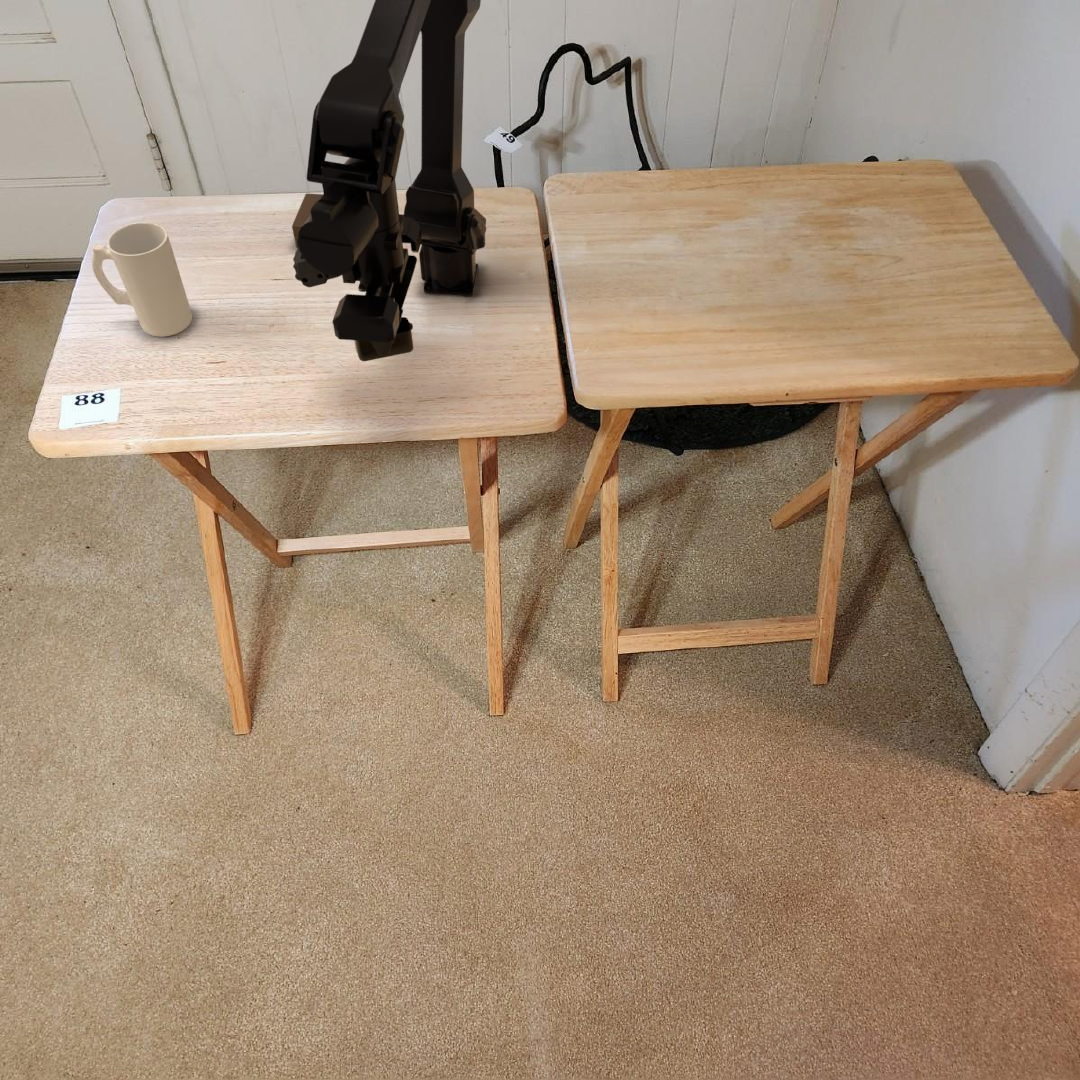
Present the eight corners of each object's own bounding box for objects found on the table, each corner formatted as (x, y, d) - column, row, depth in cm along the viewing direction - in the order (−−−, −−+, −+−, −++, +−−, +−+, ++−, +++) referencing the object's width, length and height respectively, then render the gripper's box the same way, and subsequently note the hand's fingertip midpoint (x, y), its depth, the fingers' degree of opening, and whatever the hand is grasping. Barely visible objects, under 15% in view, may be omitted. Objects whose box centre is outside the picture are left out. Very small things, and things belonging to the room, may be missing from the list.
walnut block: (366, 218, 137) (362, 196, 134) (354, 252, 132) (350, 229, 129) (310, 215, 137) (305, 193, 135) (296, 248, 132) (291, 226, 130)
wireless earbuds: (421, 352, 111) (419, 329, 109) (360, 364, 110) (356, 341, 107) (412, 328, 114) (409, 305, 112) (352, 340, 113) (348, 317, 110)
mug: (200, 305, 125) (173, 222, 115) (187, 339, 120) (158, 256, 111) (122, 303, 125) (89, 221, 115) (106, 337, 120) (70, 254, 111)
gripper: (314, 164, 105) (336, 284, 117) (269, 268, 93) (299, 389, 106) (416, 169, 105) (427, 289, 117) (384, 274, 93) (400, 396, 105)
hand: (388, 338), depth 111 cm, fingers closed on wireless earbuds, 5 cm apart
